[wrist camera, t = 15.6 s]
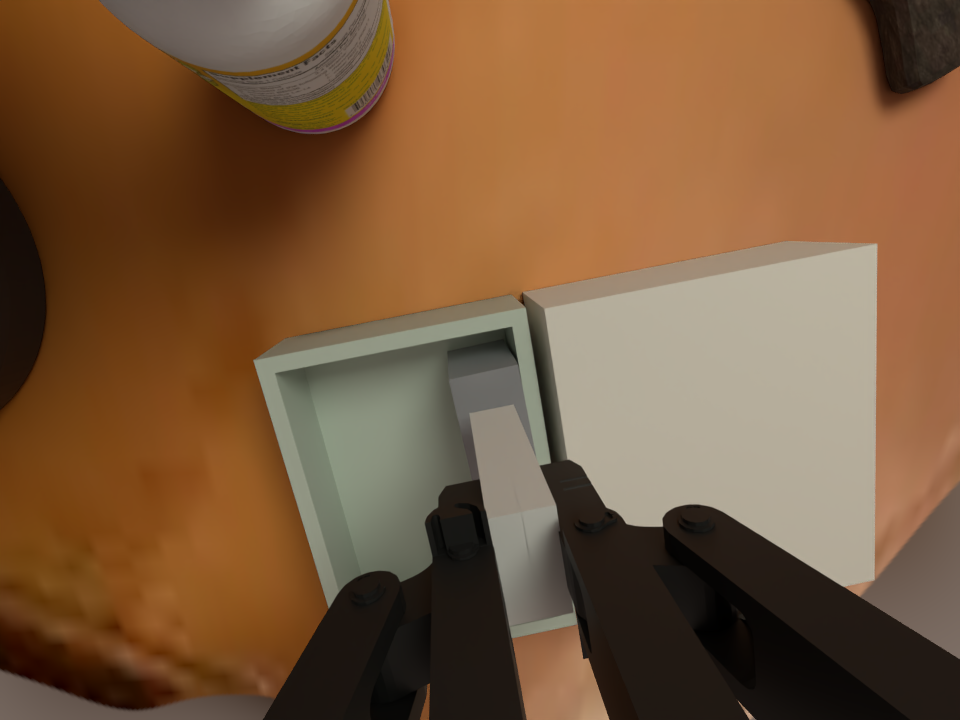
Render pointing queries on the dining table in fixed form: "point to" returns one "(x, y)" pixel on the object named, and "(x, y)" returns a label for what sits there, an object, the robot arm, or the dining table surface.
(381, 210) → the dining table surface
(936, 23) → the cleaver
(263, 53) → the supplement bottle
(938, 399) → the dining table surface
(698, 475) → the plate
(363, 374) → the box
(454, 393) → the slate tile
